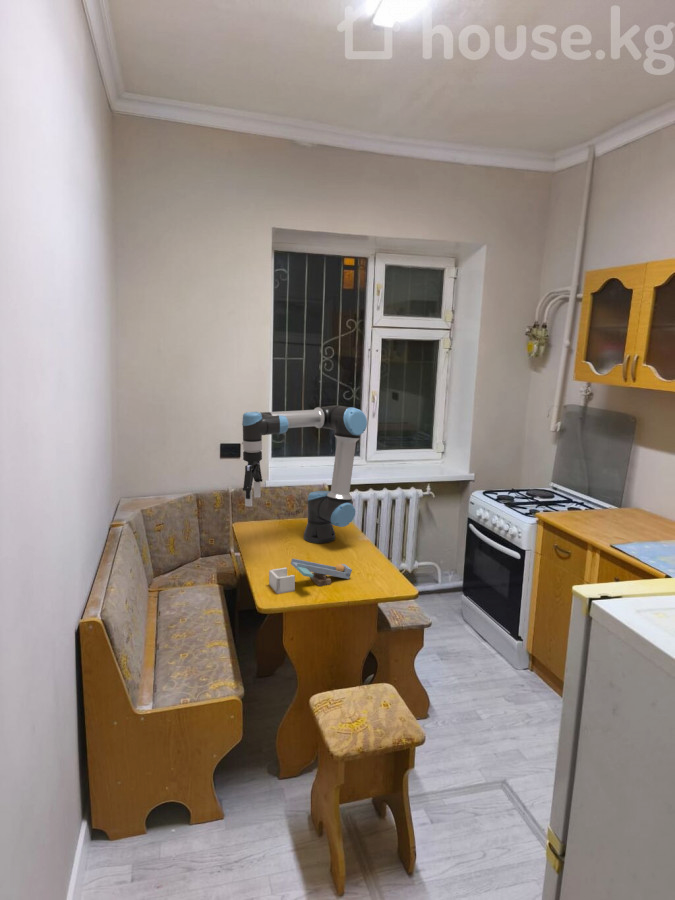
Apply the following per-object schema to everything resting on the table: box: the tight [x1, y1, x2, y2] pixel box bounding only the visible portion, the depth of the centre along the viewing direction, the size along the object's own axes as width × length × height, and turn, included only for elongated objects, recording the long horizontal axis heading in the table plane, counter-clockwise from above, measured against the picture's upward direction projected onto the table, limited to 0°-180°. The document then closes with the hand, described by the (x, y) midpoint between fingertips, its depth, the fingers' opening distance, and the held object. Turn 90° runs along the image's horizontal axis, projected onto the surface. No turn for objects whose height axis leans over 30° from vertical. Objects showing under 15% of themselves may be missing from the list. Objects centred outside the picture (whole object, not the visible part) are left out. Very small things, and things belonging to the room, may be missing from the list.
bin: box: [268, 567, 296, 595], centre depth 222 cm, size 7×9×6 cm
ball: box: [335, 563, 344, 572], centre depth 232 cm, size 4×4×4 cm
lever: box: [290, 558, 353, 580], centre depth 225 cm, size 24×13×4 cm, turn 117°
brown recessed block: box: [309, 572, 332, 587], centre depth 229 cm, size 5×9×4 cm, turn 26°
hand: (253, 501), depth 239 cm, fingers open, 13 cm apart
